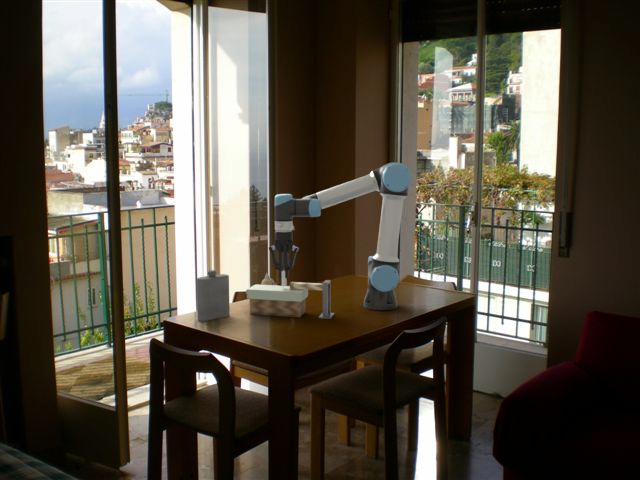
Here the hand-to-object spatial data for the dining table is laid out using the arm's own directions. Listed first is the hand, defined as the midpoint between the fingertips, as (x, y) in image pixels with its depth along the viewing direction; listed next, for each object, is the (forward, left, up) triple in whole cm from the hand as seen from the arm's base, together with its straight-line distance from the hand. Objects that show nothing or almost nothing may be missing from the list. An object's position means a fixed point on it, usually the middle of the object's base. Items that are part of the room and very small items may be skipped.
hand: (284, 285), depth 293 cm
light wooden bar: (-10, 0, -1) cm, 11 cm away
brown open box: (+3, 0, -12) cm, 13 cm away
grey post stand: (-19, 0, -12) cm, 22 cm away
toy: (+15, -14, -13) cm, 24 cm away
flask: (+27, +14, -13) cm, 33 cm away
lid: (+3, 0, -5) cm, 6 cm away
